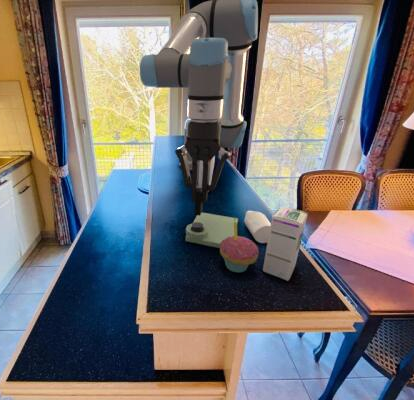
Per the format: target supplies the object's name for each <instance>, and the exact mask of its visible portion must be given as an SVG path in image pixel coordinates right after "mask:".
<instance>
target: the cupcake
mask: <svg viewBox="0 0 414 400" xmlns="http://www.w3.org/2000/svg"><path fill="white" fill-rule="evenodd" d="M233 218H234V219H235V218H236V217H233ZM219 247H220V248H219V254H220V256H222V258H223V260H224V263H225V267H226V269H228V270H229V271H230V272H232V273H244V272H245V271H246V270H247V269H248V267H249V266H250V265H253V264H254V263H256V261H257V260H258V258H259V247H258V245H257V244H256V243H255V242H254V241H253V240H251V239H249V237H248V238H247V237H245V236H241V235H238V223H237V221H236V219H235V221H234V236H231V237H227V238H225V239H224V240H222V242H221V243H220V245H219Z"/></svg>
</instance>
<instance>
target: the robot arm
mask: <svg viewBox="0 0 414 400" xmlns="http://www.w3.org/2000/svg"><path fill="white" fill-rule="evenodd" d="M258 28H259V6H258V1H257V0H207V1H203V2H201V3H199V4H197V5H196V6H194V7H192V8H190V9H189V10H188V11H187V12H186V13H185V14H183V16H182V17H181V18H180V20H179V22H178V24H177V28H176V30H175V31H174V32H173V34H172V35H171V36H170V38H169V39H168V40H167V41H166V43H165V44H164V45H163V47H161V49H160V51H159V52H158V53H157V54H154V53H151V54H146V55H143V56H142V57H141V60H140V61H139V76H140V81H141V83H142V85H144V87H145V88H156V89H158V88H160V89H161V88H164V89H166V88H169V89H171V88H173V89H174V88H175V89H176V88H177V89H178V88H180V89H181V88H182V89H183V88H185V89H188V94H187V118H186V120H185V121H184V130H183V131H184V135H183V137H184V138H183V145H182V146H179V147H178V148H176V149H175V151H174V153H175V155H176V157H177V158H178V162H179V168H180V171H181V176H182V180H183V185H184V187H185V188H189V189H190V190H191V199H190V200H191V202H192V203H193V202H194V212H193V213H194V214H193V215H194V216H197V215H199V216H200V215H201V213H203V209H204V208H203V207H204V204H206V203H207V201H208V194H209V192H210V191H211V192H213V191H214V190H215V188H216V187H217V185H218V181H219V178H220V176H221V173H222V170H223V167H224V164H225V163H226V161H227V160H228V159H229V157H230V155H231V152H230V151H229V150H227V151H226V149H228V148H229V149H238V148H240V147H241V146H242V144H243V141H244V137H245V132H246V128H247V123H248V122H247V121H246V120H244V115H243V114H242V113H241V112H242V111H241V110H242V100H243V90H244V80H245V72H246V71H245V69H246V62H247V61H246V60H247V52H248V51H249V50H250V49H251V48H252V46H253V42H254V41H256V40H257V39H258ZM224 148H226V149H224ZM217 154H218V157H217V158H218V159H219V160H218V162H217V164H216V168H215V170H214V172H213V175H212V180H211V184H209V175H210V163H211V159H212V158H213V157H214V156H215V157H216V155H217ZM200 160H201V161H203V177H202V188H198V186H199V168H200ZM208 191H209V192H208Z"/></svg>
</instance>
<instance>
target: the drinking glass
mask: <svg viewBox="0 0 414 400" xmlns="http://www.w3.org/2000/svg"><path fill="white" fill-rule="evenodd" d="M215 159H216V155H215V156H214V157H213V158H212V159H211V163H210V175H209V184H211V182H212V179H213V175H214V168H215V161H216V160H215ZM202 177H203V161H201V160H200V168H199V186H198V188H202ZM209 192H210V191H208V193H209Z"/></svg>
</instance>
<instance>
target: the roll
mask: <svg viewBox="0 0 414 400" xmlns="http://www.w3.org/2000/svg"><path fill="white" fill-rule="evenodd" d="M243 222H244V223H243V224H244V225H245V226H246V228H247V229H248V231H249V232H250V234H251V236H252V237H253V238H254V240H255V241H256V242H258V243H260V244H267V242H268V237H269V232H270V226H271V222H270V221H269V219H268V217H267V216H266V215H265V214H264V213H263V212H260V211H254V210H246V212H245V216H244V219H243Z"/></svg>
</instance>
